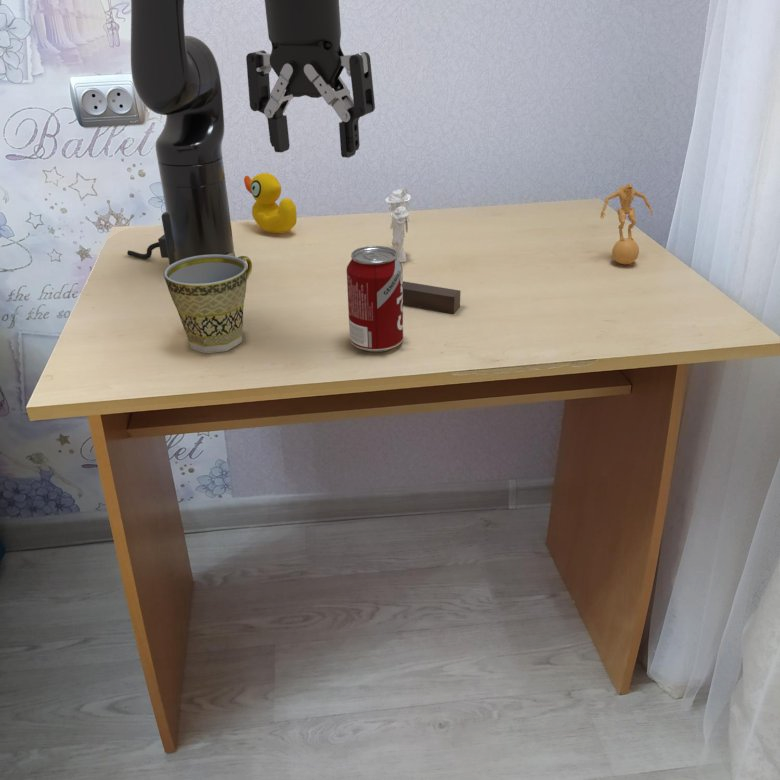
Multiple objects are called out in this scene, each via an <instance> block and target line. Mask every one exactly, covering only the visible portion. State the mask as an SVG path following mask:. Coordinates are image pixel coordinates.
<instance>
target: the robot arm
mask: <svg viewBox="0 0 780 780" xmlns="http://www.w3.org/2000/svg"><path fill="white" fill-rule="evenodd" d="M264 8H265V16H266V27H267V36H268V39H269V41H270V43H271V52H270V53H268V52H266V51H265V50H264V49H262V50H257V51H254V52H249V53H247V55H246V56H245V60H246V74H247V86H248V97H249V98H248V100H249V107H250V109H251V110H252V111H253V112H258V113H261V114H263V115H265V117H266V119H267V126H268V135H269V143H270V145H271V146H272V147H273V150H274V152H275V153H280V154H281V153H284V152H286V151H288V150H290V137H289V136H290V135H289V125H288V116H287V115H285V114H284V113H285V112H286V110H287V108H288V106H289V104H290V103H291V101H292V99H294V98H300V97H305V96H306V97H309V98H312V99H314V98H315V99H319V98H323V100H324V101H325V103H326V104H327V105H328V106H330V107H331V108H332V109H333V110H334V112H335V113H336V115H337V116H338V117H339V119H340V120H341V121H340V122H338V129H339V143H340V145H339V146H340V155H341V157H342V158H347V159H349V158H351V157H354V156H355V155H356V153H357V151H358V150H359V148H360V129H359V120H360V118H362V117H364V116H367V115H369V114H372V113H373V112H374V111H375V109H376V103H375V93H374V92H375V91H374V82H373V73H372V62H371V61H372V60H371V56H370V54H369V53H368V52H367V51H363V52H359V53H355V54H344V53H343V50H342V47H341V39H342V29H341V28H342V26H341V13H340V0H264ZM130 16H131V17H130V71H131V79H132V83H133V86H134V89H135V91H136V94H137V96H138V98H139V99H140V100H141V102H142V103H143V105H144V106H146V108H148V109H149V111H151V112H153V113H155V114H158V115H162V116H166V118H165V123H164V126H163V129H162V131H161V132H160V134H159V135H158V137H157V139H156V141H155V153H156V160H157V165H158V171H159V177H160V184H161V188H162V194H163V200H164V207H165V211H164V212H163V213H162V214H161V224H162V229H163V234H162V235H161V236H160V237H159V238H158V239H157V242H154V243H151V244H150V245H149V246H148V247H147V248H146V253H140V252H137V251H134V250H127V252H126V254H127V256H130V257H134V258H137V259H141V260H148V259H150V258H151V257H152V255H153V254H152V253H153V250H155V249H157V248H159V253H160V257H161V259H168V264H169V266H170V265H171V264H173V263H175V262H177V261H179V260H182V259H185V258H189V257H194V256H200V255H211V254H219V255H229V256H234V257H236V253H235V247H234V237H233V230H232V222H231V214H230V213H231V212H230V207H229V206H230V205H229V200H228V199H229V198H228V190H227V181H226V174H225V166H224V159H223V149H222V146H223V145H222V144H223V140H224V135H225V117H224V103H223V101H224V100H223V90H222V81H221V80H222V79H221V73H220V69H219V66H218V63H217V60H216V57H215V56H214V54H213V52H212V50H211V48H210V47H209V46H208V45H207V44H206V43H205V42H204V41H202V39H200V38H198V37H195V36H192V35H186V33H185V0H130ZM344 69H345V70H346V75H348V76H349V77H350V81H351V82H350V83H351V91H352V92H351V91H350V89H349V88H348V86H347V85H346V83H345V82H344V80H343V79H342V77H341V74H342V73H343V70H344ZM272 70H273V71H274V72H275V75H276V76H277V79H276V81H275V84H274V86H273V88H272V89H271V85H270V73H271V71H272ZM351 93H352V96H351Z"/></svg>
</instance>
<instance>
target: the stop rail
mask: <svg viewBox="0 0 780 780" xmlns="http://www.w3.org/2000/svg"><path fill="white" fill-rule="evenodd" d="M403 306H406V307H412V308H417V309H423V310H429V311H435V312H441V313H446V314H452V315H454V314H455V313H456V312H457V311H458V310H459V309H460V308H461V290H460V289H459V290H458V289H454V288H448V287H442V286H441V287H440V286H434V285H429V284H423V283H418V282H417V283H416V282H411V281H404V280H403Z"/></svg>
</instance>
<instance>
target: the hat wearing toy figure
mask: <svg viewBox="0 0 780 780" xmlns="http://www.w3.org/2000/svg"><path fill="white" fill-rule="evenodd" d="M411 199H412V197H411V194H410V193H408V189H407V188H403V187H401V188H399V189H395V190H393V191H392V192H391V193H390V194H389V195H388V196H387V197H386V198H385V202H386V203H387V204H388V210H389V211H390V212H391V213H390V217H391V224H390V228H389V229H390V230H392V239H391V245H392V249H394V250H395V251H396V252H397V259H398V261H399V262H400V263H405V262H407V254H406V252H405V250H404V241H405V237H406V235H405V232H406V234H408V232H409V222H410V217H409V216H410V212H408V208H409V205H410V203H409V201H411Z"/></svg>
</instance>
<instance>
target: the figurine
mask: <svg viewBox="0 0 780 780" xmlns="http://www.w3.org/2000/svg"><path fill="white" fill-rule="evenodd" d="M617 197H618V199H619V203H620V207H619V208H617V211H616V212H617V216H618V217H617V218H618V221H619V225H618V232H619V234H618V235H619V240H618V241H617V242H615V243H614V245H613V247H612V250H611V254H612V257H613V259H614V261H615V262H616V263H617V264H620V265H623V266H625V265H630V264H633V263H634V262H635V261H636V260H637V259H638V257H639V254H640V247H639V244H638V243H637V242H636V241H635V239H634V238H633V235H632V229H633V228H634V227H635V225H636V224H637V218H636V214H635V211H636V209H635V207H634V206H632V203H633V201H634V198H635V197H638V198H641V199H642V200H643V202H644V203H645V205H646V207H647V208H648V210H649V213H650V215H651V217H653V216H654V214H653V208H652V206H651V204H650V202H649V200H648V199H647V197H646V194H645V195H644V194H643V193H642V192H640V191H638V190H636V189H635V188H633V183H632V184H631V183H628V184H627V185H626V184H625V185H621V186H620V187H619V188H618V190H615V191H614V192H613V193H611V194H610V195H609V194H608V196H606V198H604V203H603V205H602V209H601V212H600V217H602V220H603V219H605V216H606V213H605V211H606V209H607V205H608V204H609V201H610V200H612V199H614V198H617ZM631 206H632V207H631ZM626 219H628V221H630V222H631V223H629V224H628V228H627V234H628V235H627V238H625V237H624V234H623V233H624V232H623V229H624V226H625V223H626Z"/></svg>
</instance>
